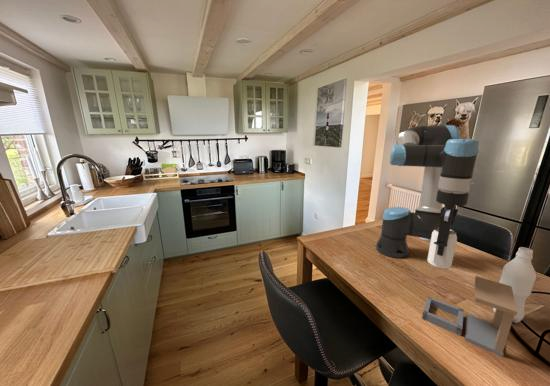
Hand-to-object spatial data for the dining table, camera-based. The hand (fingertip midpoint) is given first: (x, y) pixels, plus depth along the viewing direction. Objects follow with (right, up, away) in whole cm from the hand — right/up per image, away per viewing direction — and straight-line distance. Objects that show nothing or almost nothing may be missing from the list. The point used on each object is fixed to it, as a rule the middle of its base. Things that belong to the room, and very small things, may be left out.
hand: (440, 258), depth 73 cm
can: (0, -2, +1) cm, 2 cm away
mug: (+35, -5, +58) cm, 68 cm away
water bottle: (+23, -20, +1) cm, 30 cm away
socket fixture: (+5, -21, -1) cm, 21 cm away
